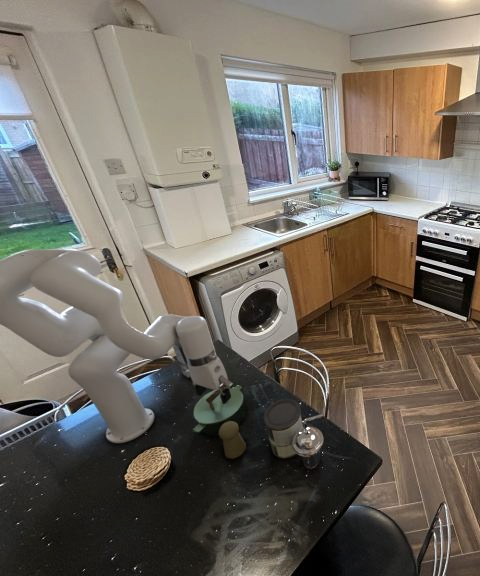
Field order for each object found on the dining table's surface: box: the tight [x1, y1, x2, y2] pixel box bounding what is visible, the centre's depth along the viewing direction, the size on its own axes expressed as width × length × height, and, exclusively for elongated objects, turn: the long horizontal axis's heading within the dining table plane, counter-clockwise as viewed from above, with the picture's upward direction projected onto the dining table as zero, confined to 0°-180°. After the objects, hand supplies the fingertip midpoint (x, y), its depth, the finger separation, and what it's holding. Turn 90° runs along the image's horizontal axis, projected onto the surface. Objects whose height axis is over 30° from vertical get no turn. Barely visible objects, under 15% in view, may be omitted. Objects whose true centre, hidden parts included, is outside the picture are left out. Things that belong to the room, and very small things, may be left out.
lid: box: [193, 385, 244, 424], centre depth 100 cm, size 15×15×6 cm
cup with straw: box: [292, 413, 325, 469], centre depth 87 cm, size 8×9×20 cm
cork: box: [218, 421, 247, 459], centre depth 92 cm, size 6×6×11 cm
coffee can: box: [263, 398, 304, 459], centre depth 93 cm, size 10×10×14 cm
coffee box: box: [172, 340, 189, 379], centre depth 120 cm, size 9×6×16 cm
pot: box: [192, 384, 246, 436], centre depth 103 cm, size 14×19×6 cm
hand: (214, 396), depth 99 cm, fingers open, 9 cm apart
